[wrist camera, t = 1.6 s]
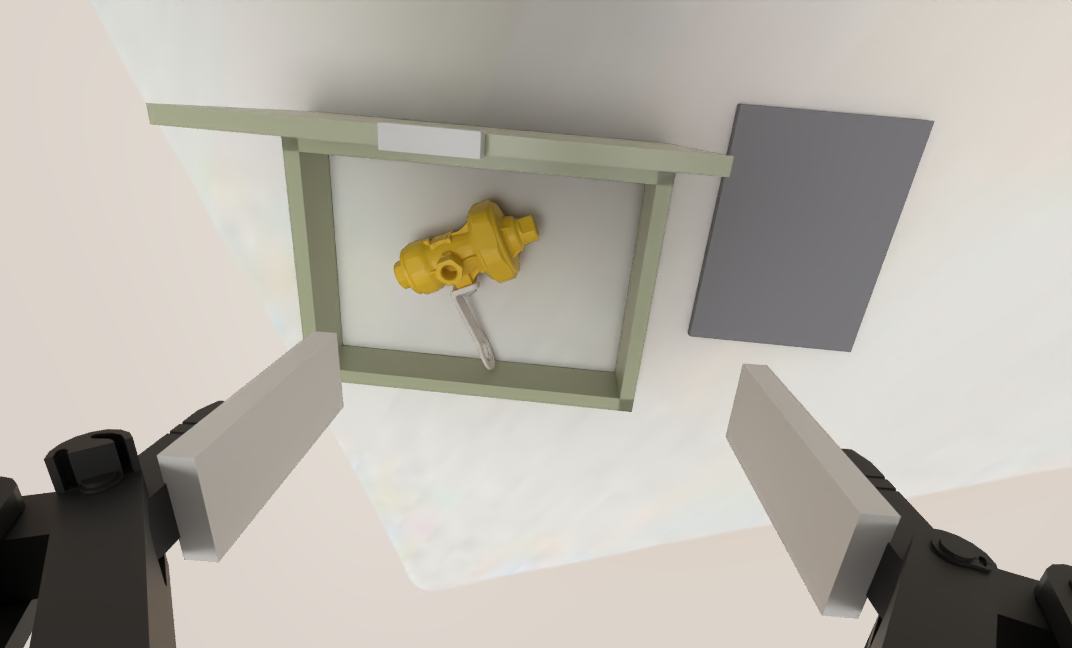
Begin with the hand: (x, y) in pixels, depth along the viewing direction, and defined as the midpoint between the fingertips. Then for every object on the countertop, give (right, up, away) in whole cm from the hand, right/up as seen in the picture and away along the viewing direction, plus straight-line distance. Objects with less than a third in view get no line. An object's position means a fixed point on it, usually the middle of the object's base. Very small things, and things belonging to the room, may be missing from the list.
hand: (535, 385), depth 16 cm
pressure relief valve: (-3, +5, +21) cm, 22 cm away
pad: (+18, +8, +18) cm, 27 cm away
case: (-4, +6, +21) cm, 22 cm away
